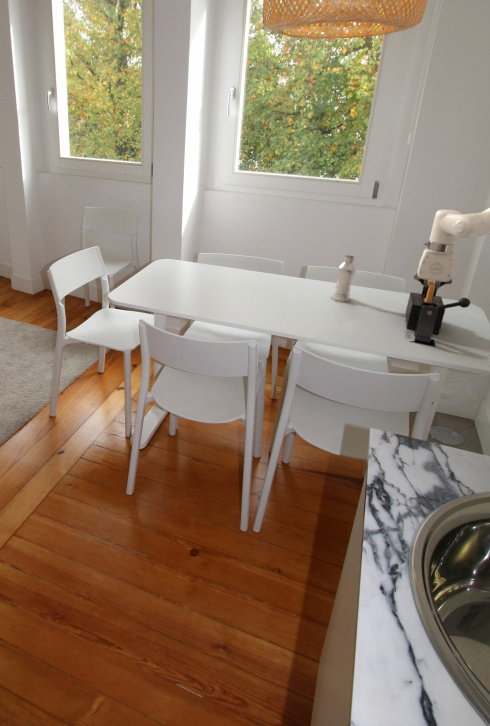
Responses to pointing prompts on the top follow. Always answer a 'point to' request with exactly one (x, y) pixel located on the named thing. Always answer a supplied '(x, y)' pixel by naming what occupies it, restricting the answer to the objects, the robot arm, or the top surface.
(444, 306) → the toaster lever
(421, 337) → the lever bracket
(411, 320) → the toaster
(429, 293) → the toast
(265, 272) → the top surface
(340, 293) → the plastic bottle
